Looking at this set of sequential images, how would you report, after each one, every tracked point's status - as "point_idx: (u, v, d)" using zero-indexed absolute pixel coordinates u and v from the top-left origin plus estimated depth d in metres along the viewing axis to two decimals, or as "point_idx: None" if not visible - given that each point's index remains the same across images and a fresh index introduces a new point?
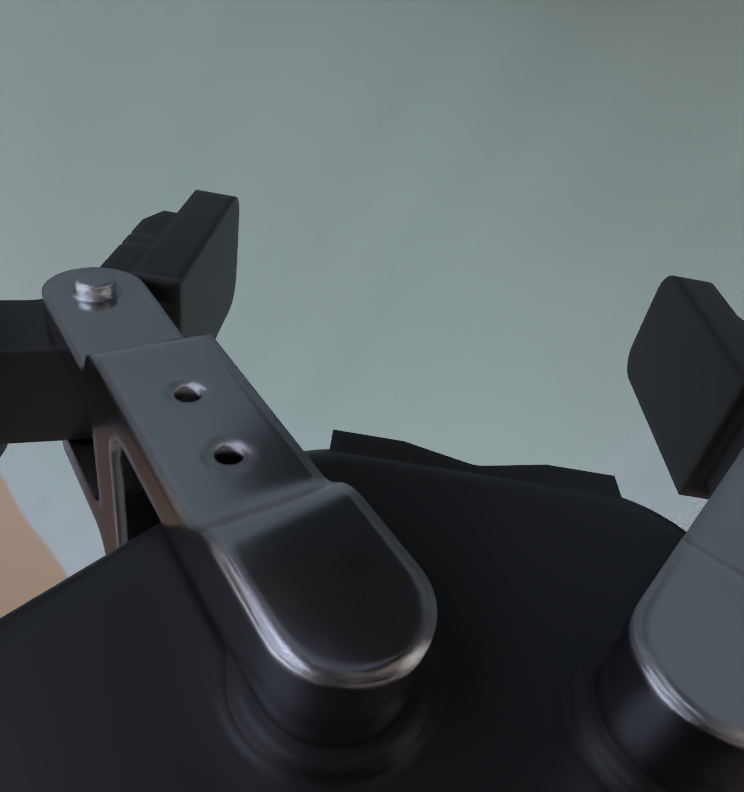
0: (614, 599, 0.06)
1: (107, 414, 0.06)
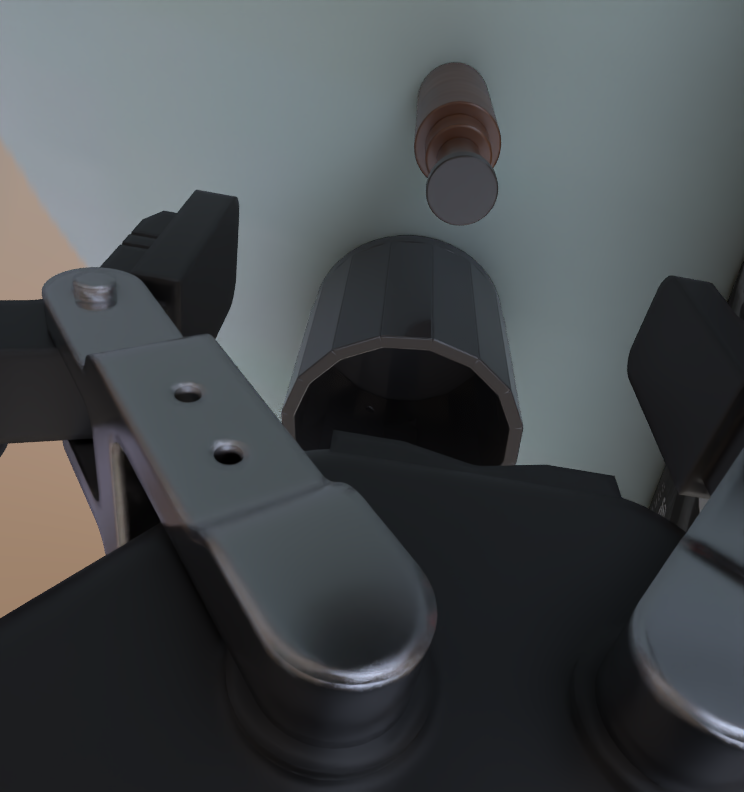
0: (613, 599, 0.06)
1: (107, 414, 0.06)
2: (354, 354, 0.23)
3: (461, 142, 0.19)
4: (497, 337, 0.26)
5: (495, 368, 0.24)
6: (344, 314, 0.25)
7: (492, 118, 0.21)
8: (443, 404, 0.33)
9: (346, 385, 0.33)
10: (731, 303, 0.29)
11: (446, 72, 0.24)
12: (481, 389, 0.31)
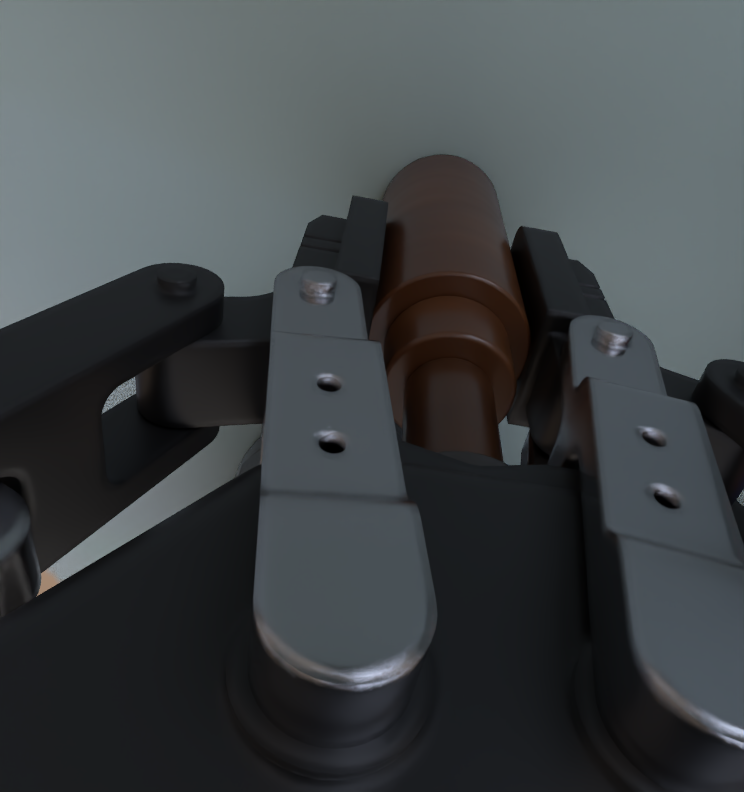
0: None
1: None
2: None
3: (453, 379, 0.09)
4: None
5: None
6: None
7: (515, 303, 0.10)
8: None
9: None
10: None
11: (428, 179, 0.14)
12: None
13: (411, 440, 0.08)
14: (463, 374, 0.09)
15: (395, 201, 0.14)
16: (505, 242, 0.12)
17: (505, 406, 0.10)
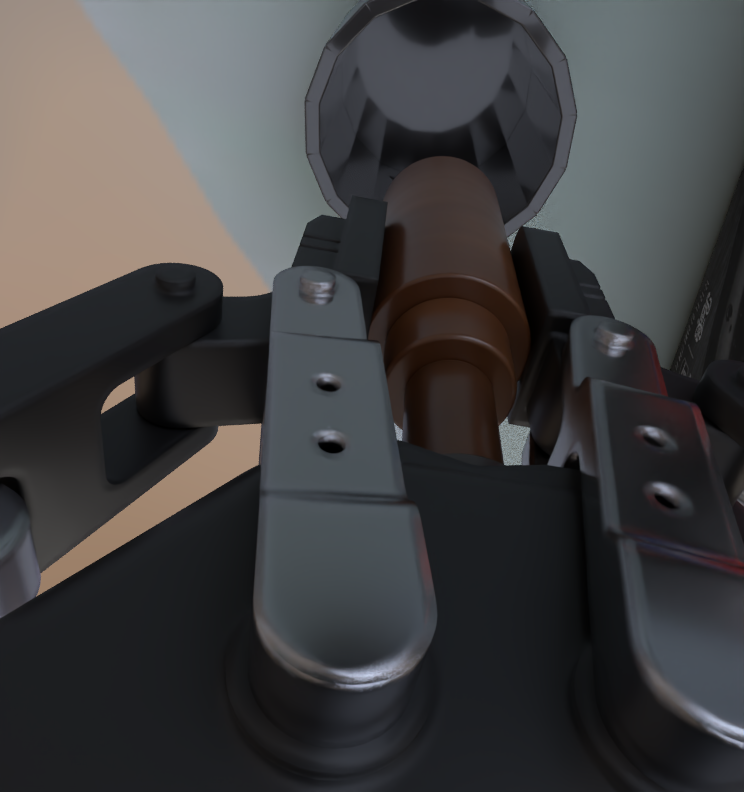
0: None
1: (266, 384, 0.07)
2: (390, 8, 0.20)
3: (455, 381, 0.09)
4: None
5: None
6: None
7: (516, 305, 0.10)
8: None
9: (368, 153, 0.30)
10: None
11: (428, 181, 0.14)
12: (518, 142, 0.28)
13: (412, 442, 0.08)
14: (464, 376, 0.09)
15: (395, 202, 0.14)
16: (505, 244, 0.13)
17: (505, 408, 0.10)
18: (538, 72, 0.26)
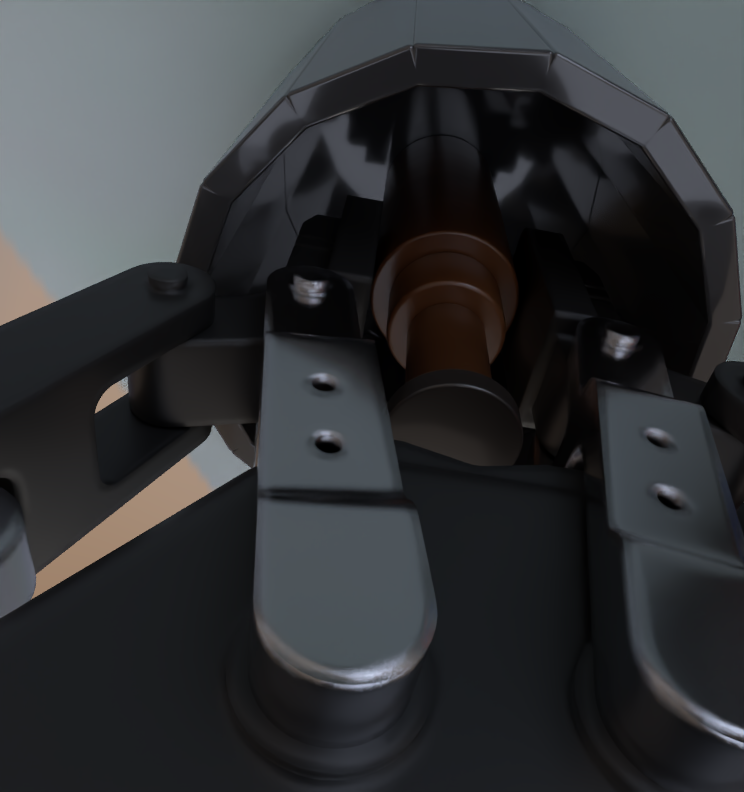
0: None
1: (261, 384, 0.07)
2: (342, 108, 0.09)
3: (450, 319, 0.10)
4: None
5: None
6: (320, 57, 0.11)
7: (505, 259, 0.12)
8: None
9: None
10: None
11: (428, 156, 0.15)
12: None
13: (414, 368, 0.10)
14: (459, 316, 0.11)
15: (398, 176, 0.15)
16: (497, 211, 0.14)
17: (496, 348, 0.11)
18: (627, 190, 0.14)
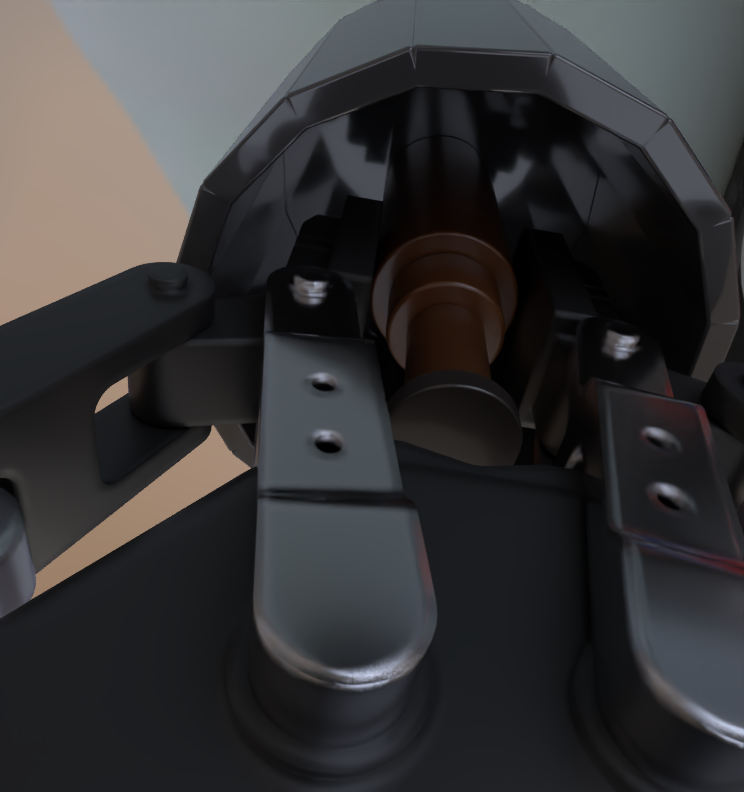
0: None
1: (261, 385, 0.07)
2: (342, 109, 0.09)
3: (450, 320, 0.11)
4: None
5: None
6: (320, 58, 0.11)
7: (504, 259, 0.12)
8: None
9: None
10: None
11: (427, 157, 0.15)
12: None
13: (413, 369, 0.10)
14: (458, 317, 0.11)
15: (397, 177, 0.15)
16: (497, 211, 0.14)
17: (495, 348, 0.11)
18: (626, 191, 0.14)
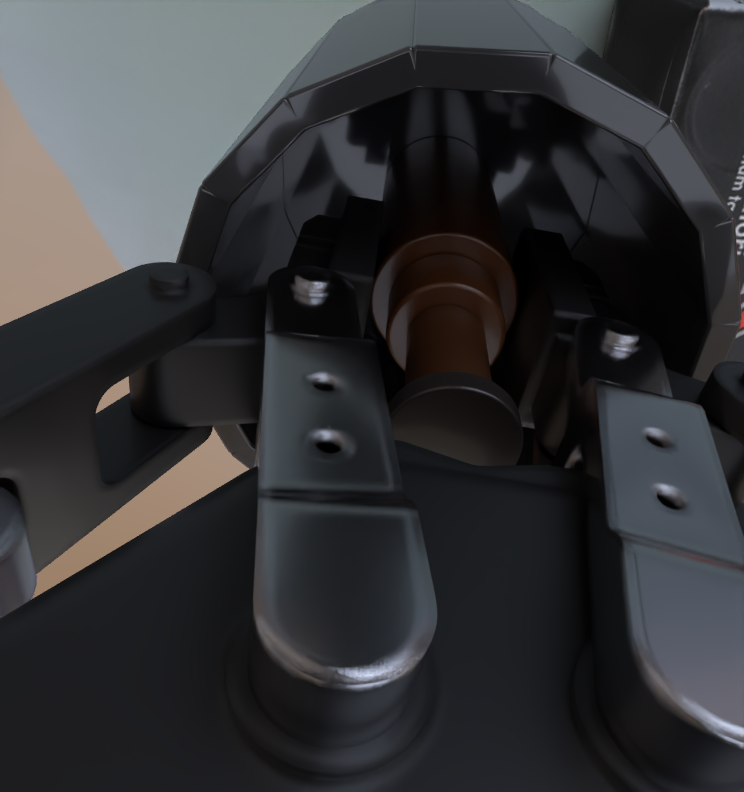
0: None
1: (262, 384, 0.07)
2: (342, 110, 0.09)
3: (450, 321, 0.10)
4: None
5: None
6: (319, 58, 0.11)
7: (505, 260, 0.12)
8: None
9: None
10: None
11: (427, 157, 0.15)
12: None
13: (414, 370, 0.10)
14: (458, 318, 0.11)
15: (397, 177, 0.15)
16: (496, 212, 0.14)
17: (496, 350, 0.11)
18: (626, 191, 0.14)
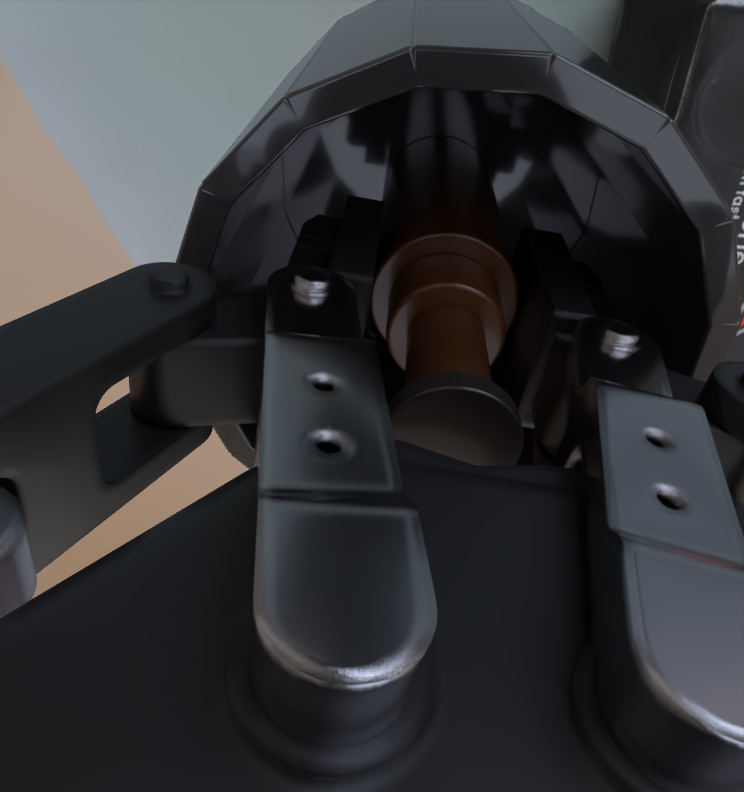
0: None
1: (262, 385, 0.07)
2: (341, 110, 0.09)
3: (450, 321, 0.10)
4: None
5: None
6: (319, 58, 0.11)
7: (505, 260, 0.12)
8: None
9: None
10: None
11: (426, 157, 0.15)
12: None
13: (414, 370, 0.10)
14: (458, 318, 0.11)
15: (397, 177, 0.15)
16: (496, 212, 0.14)
17: (496, 350, 0.11)
18: (626, 191, 0.14)
